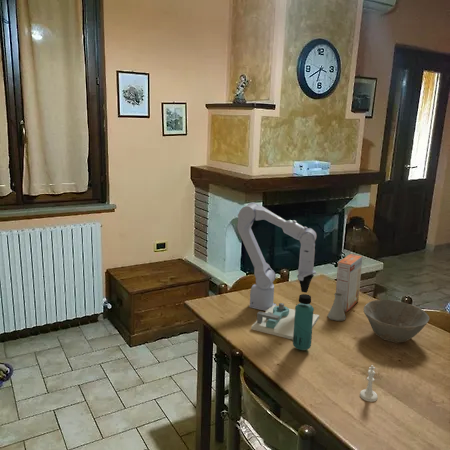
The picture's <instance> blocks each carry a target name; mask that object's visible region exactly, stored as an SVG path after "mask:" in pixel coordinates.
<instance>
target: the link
mask: <svg viewBox="0 0 450 450" xmlns="http://www.w3.org/2000/svg"><path fill="white" fill-rule="evenodd" d="M288 308H289V307H287V306H286V305H284V311H279V305H276V306H275V307H274V308H273V315H277V316H280V319H281V318H282V316H287V315H288V314H289V309H290V308H289V309H288ZM280 319H279V320H280ZM279 320H278V321H277V320H273V319H269V320H268V321H267V322H266V327H270V328H274V327H275V326H276V325H277V323H278V322H279Z"/></svg>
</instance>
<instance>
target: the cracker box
mask: <svg viewBox="0 0 450 450" xmlns="http://www.w3.org/2000/svg"><path fill="white" fill-rule="evenodd" d="M362 265H363V255H359V254H358V255H357V254H354V253H353V254H352V253H349V254H348V255H346V256H344V258H342V259H341V260H339V261H337V270H336V285H335V286H336V287H335V293H341V294H343V296H342V306H343V310H344V312H345V313H346V312H349V311H350V310H351V309H352V308H353V307H354V306H355V304H357V303H358V302H359V296H360V286H361V277H362V276H361V275H362V267H363V266H362Z"/></svg>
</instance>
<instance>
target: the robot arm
mask: <svg viewBox="0 0 450 450" xmlns="http://www.w3.org/2000/svg"><path fill="white" fill-rule="evenodd" d="M237 217H238V218H237V232H238V235H239V236H240V238H241V240H242V243H243V245H244V247H245V250H246V252H247V254H248V256H249V258H250V261H251V264H252V266H253V270H254V273H253V274H254V276H255V283H254V284H252V286H251V287H250V292H249V306H248V308H251V309H255V310H260V311H265V312H266V311H267V310H268V309H269V308H270V307H272V306H273V305H276V306H277V303H274V301H275V300H274V297H275V296H274V295H275V284H274V281H275V280H276V278H277V276H276V272H275V271H274V270H273V269H272V268H271V266H270V264H269V263H268V262H266V260H265V257H264V255H263V252H262V250H261V248H260V246H259V243H258V241H257V239H256V237H255V235H254V232H253V229H252V226H253V224H254V221H257V222H258V221H262V220H264V221H267V222H268V223H271V224H272V225H275V226H277V227H279V228H280V229H282V231H283V233H284V234H286V235H288V236H290V237H291V238H293V239H295V240H297V241H299V243H300V247H299V261H298V269H297V276H296V277H297V280H298V282H299V285H300V286H299V287H300V290H301V292H302V293H304V294H306V293H307V292H308V291H309V288H310V284H311V281H312V279H313V278H314V277H315V276H314V275H316V274H317V271H316V270H314V267H315V266H314V265H315V264H314V263H315V254H316V249H315V247H316V240H317V232H316V231H315V230H314V229H313V228H311V227H309V228H308V227H307V226H303V225H302V224H300V223H298V222H297V220H295V219H293V220H291V219H289V220H286V219H284V218H283V217H281V216H280V215H277V214H276V213H274V212H272V211H271V210H269V209H268V208H267V207H264V206H263V205H260V204H258V203H256V202H249V203H247V205H245V206H243V207H242V208H241V209H240V210H239V212H238V214H237Z"/></svg>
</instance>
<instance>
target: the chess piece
mask: <svg viewBox="0 0 450 450" xmlns="http://www.w3.org/2000/svg"><path fill="white" fill-rule="evenodd" d="M375 370H376V367H375V366H374V365H373V364H371V365H370V366H369V367H368V370H367V374H368V376H367V377H366V381H367V382H368V383H367V386H366V389H365V388H364V389H362V390H360V392H359V397H360V398H361V399H362V400H364V401H367V402H371V403H372V402H376V401H377V400H378V394H377V392H376V391H374V390H373V382H375V378H374V376H375V375H376V372H375Z"/></svg>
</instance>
